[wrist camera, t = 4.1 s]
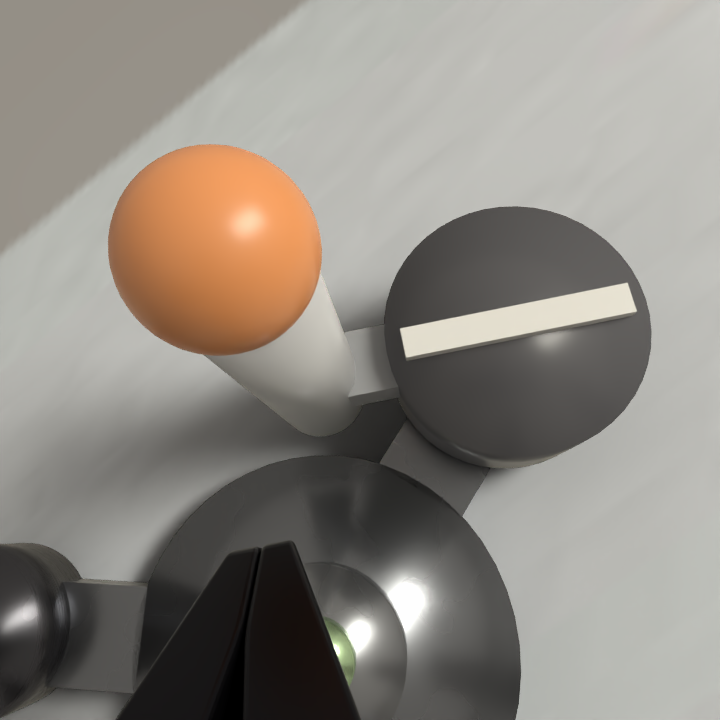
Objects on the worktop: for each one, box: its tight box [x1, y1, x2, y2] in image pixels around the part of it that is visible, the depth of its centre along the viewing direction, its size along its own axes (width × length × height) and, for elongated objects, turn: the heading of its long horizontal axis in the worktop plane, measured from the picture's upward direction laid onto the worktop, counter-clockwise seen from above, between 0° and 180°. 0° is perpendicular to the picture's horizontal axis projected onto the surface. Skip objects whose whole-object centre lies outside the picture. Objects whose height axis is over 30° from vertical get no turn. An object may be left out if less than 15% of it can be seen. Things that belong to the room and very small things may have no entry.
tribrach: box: [0, 418, 521, 720], centre depth 16 cm, size 18×20×3 cm
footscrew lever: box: [108, 144, 651, 468], centre depth 12 cm, size 9×6×11 cm, turn 100°
